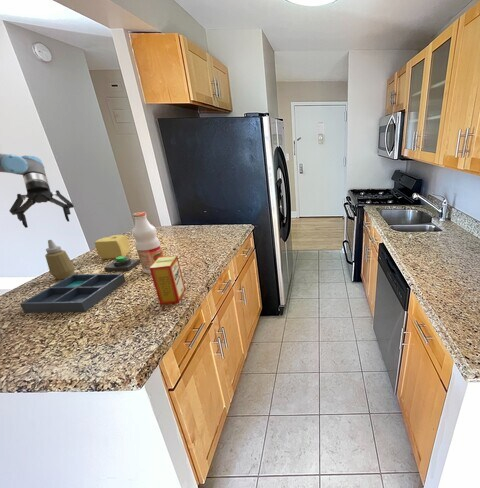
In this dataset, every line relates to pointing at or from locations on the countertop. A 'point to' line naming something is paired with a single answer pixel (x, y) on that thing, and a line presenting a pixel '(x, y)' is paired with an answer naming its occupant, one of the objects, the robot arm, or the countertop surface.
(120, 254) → the cheese
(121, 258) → the button
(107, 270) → the panel
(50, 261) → the squeeze bottle
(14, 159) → the robot arm
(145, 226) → the fruit juice
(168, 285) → the baking soda box
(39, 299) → the compartment tray
